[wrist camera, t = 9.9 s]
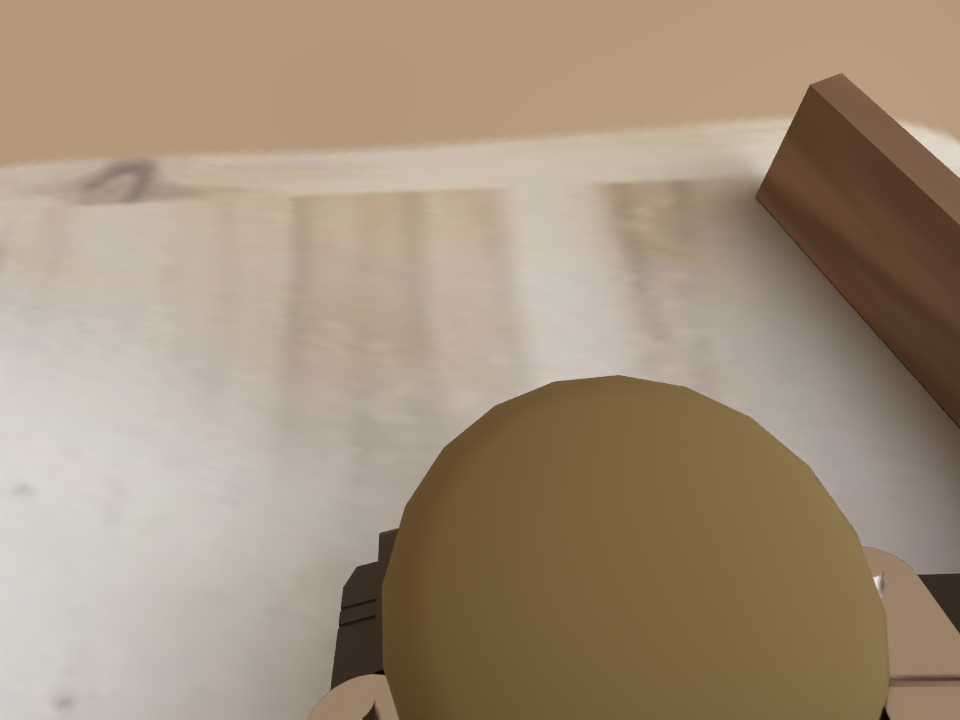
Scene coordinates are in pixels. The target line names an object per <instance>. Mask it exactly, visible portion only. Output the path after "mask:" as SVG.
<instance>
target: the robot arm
mask: <svg viewBox="0 0 960 720" xmlns="http://www.w3.org/2000/svg"><path fill="white" fill-rule="evenodd" d="M398 530H399V528H397V529H393V530H390V531H386V532H382V533H380V535H379V555H378V562H374V563H370V564H366V565H362V566H359V567H356V569H355V571H354V572H353V574H352V575H351V577H350V578H349V580H348V581H347V583H346V584H345V586H344V587H343V595H342V603H341V612H340V619H339V629H338V634H337V642H336V650H335V658H334V666H333V674H332V682H331V690H330V692H329V693H327V694H326V695H325V696H324V697H323V698H322V699H321V700H320V701H319V702H318V704H317V705H316V706H315V707H314V709H313V710H312V712H311V714H310V716H309V718H308V720H399V718H398V715H397V711H396V708H395V705H394V702H393V698H392V695H391V692H390V688H389V685H388V682H387V679H386V675H385V672H384V669H383V623H382V585H383V581H384V578H385V574H386V571H387V567H388V564H389V561H390V557H391V554H392V550H393V547H394V543H395V540H396V537H397V533H398ZM862 549H863V552H864V555H865V557H866V560H867V563H868V565H869V568H870V571H871V573H872V576H873V579H874V582H875V584H876V587H877V590H878V592H879V595H880V598H881V601H882V603H883V606H884V609H885V611H886V621H887V637H888V653H889V669H890V677H889V686H888V696H887V699H886V701H885V704H884V710H883V720H960V574H932V575H918V574H916V572H915V571H914V570H913V569H912V568H911V567H910V566H909V565H908V564H906V563H905V562H904V561H902V560H901V559H899V558H897V557H895V556H893V555H891V554H889V553H886V552H883V551H881V550H877V549H873V548H869V547H863V546H862Z"/></svg>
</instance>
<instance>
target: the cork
mask: <svg viewBox="0 0 960 720" xmlns="http://www.w3.org/2000/svg"><path fill="white" fill-rule="evenodd" d="M382 623H383V669H384V672H385V675H386V679H387V682H388V685H389V688H390V692H391V695H392V698H393V702H394V705H395V708H396V711H397V715H398V718H399V720H883V710H884V704H885V701H886V699H887V696H888V686H889V677H890V669H889V653H888V637H887V621H886V611H885V609H884V606H883V603H882V601H881V598H880V595H879V592H878V590H877V587H876V584H875V582H874V579H873V576H872V573H871V571H870V568H869V565H868V563H867V560H866V557H865V555H864V552H863V549H862V546H861V544H860V541H859V538H858V536H857V533H856V531H855V530H854V528H853V527H852V526H851V524H850V523H849V521H848V520H847V519H846V517H845V516H844V514H843V513H842V512H841V510H840V509H839V507H838V506H837V505H836V503H835V502H834V500H833V499H832V498H831V496H830V495H829V493H828V492H827V491H826V489H825V488H824V486H823V485H822V484H821V482H820V481H819V479H818V478H817V477H816V475H815V474H814V472H813V471H812V470H811V468H810V467H809V466H808V465H807V464H806V463H805V462H803V461H802V460H801V459H800V458H799V457H797V456H796V455H795V454H794V453H793V452H791V451H790V450H789V449H788V448H787V447H785V446H784V445H783V444H782V443H781V442H779V441H778V440H777V439H776V438H775V437H773V436H772V435H771V434H770V433H769V432H767V431H766V430H765V429H764V428H763V427H761V426H760V425H759V424H758V423H757V422H755V421H754V420H753V419H752V418H751V417H748V416H746V415H744V414H742V413H740V412H738V411H736V410H734V409H731V408H729V407H727V406H725V405H723V404H721V403H719V402H716V401H714V400H712V399H710V398H708V397H706V396H704V395H702V394H699V393H697V392H695V391H693V390H691V389H689V388H687V387H683V386H677V385H671V384H666V383H660V382H654V381H649V380H643V379H637V378H632V377H626V376H620V375H616V376H606V377H596V378H586V379H577V380H567V381H557V382H552V383H550V384H547V385H545V386H543V387H540V388H538V389H535V390H533V391H530V392H528V393H525V394H523V395H521V396H518V397H516V398H513V399H511V400H508V401H506V402H504V403H501V404H499V405H496V406H494V407H493V408H492V409H491V410H489V411H488V412H487V413H486V414H484V415H483V416H482V417H481V418H480V419H478V420H477V421H476V422H475V423H473V424H472V425H471V426H470V427H469V428H467V429H466V430H465V431H464V432H462V433H461V434H460V435H459V436H458V437H456V438H455V439H454V440H453V441H452V442H450V443H449V444H448V445H447V446H445V447H444V448H443V450H442V451H441V453H440V454H439V456H438V457H437V459H436V460H435V462H434V463H433V465H432V466H431V468H430V469H429V471H428V473H427V474H426V476H425V477H424V479H423V480H422V482H421V483H420V485H419V486H418V488H417V489H416V491H415V492H414V494H413V495H412V497H411V498H410V500H409V501H408V503H407V504H406V506H405V509H404V513H403V516H402V519H401V523H400V526H399V530H398V533H397V537H396V540H395V543H394V547H393V550H392V554H391V557H390V561H389V564H388V567H387V571H386V574H385V578H384V581H383V585H382Z"/></svg>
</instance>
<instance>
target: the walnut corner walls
mask: <svg viewBox="0 0 960 720" xmlns="http://www.w3.org/2000/svg"><path fill="white" fill-rule="evenodd" d="M756 198H757V199H758V200H759V201H760V202H761V203H762V204H763V206H764V207H765V208H766V209H767V210H768V211H769V212H770V214H771V215H772V216H773V217H774V218H775V219H776V220H777V221H778V223H779V224H780V225H781V226H782V227H783V228H784V229H785V230H786V232H787V233H788V234H789V235H790V236H791V237H792V238H793V239H794V241H795V242H796V243H797V244H798V245H799V246H800V247H801V249H802V250H803V251H804V252H805V253H806V254H807V255H808V256H809V258H810V259H811V260H812V261H813V262H814V263H815V264H816V265H817V267H818V268H819V269H820V270H821V271H822V272H823V273H824V275H825V276H826V277H827V278H828V279H829V280H830V281H831V282H832V284H833V285H834V286H835V287H836V288H837V289H838V290H839V291H840V293H841V294H842V295H843V296H844V297H845V298H846V299H847V301H848V302H849V303H850V304H851V305H852V306H853V307H854V308H855V310H856V311H857V312H858V313H859V314H860V315H861V316H862V317H863V319H864V320H865V321H866V322H867V323H868V324H869V325H870V327H871V328H872V329H873V330H874V331H875V332H876V333H877V334H878V336H879V337H880V338H881V339H882V340H883V341H884V342H885V343H886V345H887V346H888V347H889V348H890V349H891V350H892V351H893V353H894V354H895V355H896V356H897V357H898V358H899V359H900V360H901V362H902V363H903V364H904V365H905V366H906V367H907V368H908V369H909V371H910V372H911V373H912V374H913V375H914V376H915V377H916V379H917V380H918V381H919V382H920V383H921V384H922V385H923V386H924V388H925V389H926V390H927V391H928V392H929V393H930V394H931V395H932V397H933V398H934V399H935V400H936V401H937V402H938V403H939V405H940V406H941V407H942V408H943V409H944V410H945V411H946V412H947V414H948V415H949V416H950V417H951V418H952V419H953V420H954V421H955V423H956V424H957V425H958V426H959V427H960V178H959V177H958V176H956V175H955V174H954V173H953V172H952V171H951V170H950V169H949V168H948V167H946V166H945V165H944V164H943V163H942V162H941V161H940V160H939V159H937V158H936V157H935V156H934V155H933V154H932V153H931V152H930V151H928V150H927V149H926V148H925V147H924V146H923V145H922V144H921V143H919V142H918V141H917V140H916V139H915V138H914V137H913V136H912V135H910V134H909V133H908V132H907V131H906V130H905V129H904V128H903V127H902V126H900V125H899V124H898V123H897V122H896V121H895V120H894V119H893V118H891V117H890V116H889V115H888V114H887V113H886V112H885V111H884V110H882V109H881V108H880V107H879V106H878V105H877V104H876V103H875V102H873V101H872V100H871V99H870V98H869V97H868V96H867V95H866V94H864V93H863V92H862V91H861V90H860V89H859V88H858V87H857V86H855V85H854V84H853V83H852V82H851V81H850V80H848V78H846V77H845V76H844V75H843V74H842V73H841V74H838V75H835V76H833V77H830V78H827V79H824V80H822V81H819V82H816V83H814V84H811V85H810V86H809V88H808V90H807V92H806V94H805V96H804V98H803V100H802V102H801V104H800V106H799V109H798V111H797V113H796V115H795V117H794V119H793V121H792V123H791V125H790V127H789V129H788V131H787V133H786V135H785V137H784V139H783V141H782V143H781V145H780V148H779V150H778V152H777V154H776V156H775V158H774V160H773V162H772V164H771V166H770V168H769V170H768V172H767V174H766V176H765V178H764V180H763V182H762V185H761V187H760V189H759V191H758V193H757V195H756Z"/></svg>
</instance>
